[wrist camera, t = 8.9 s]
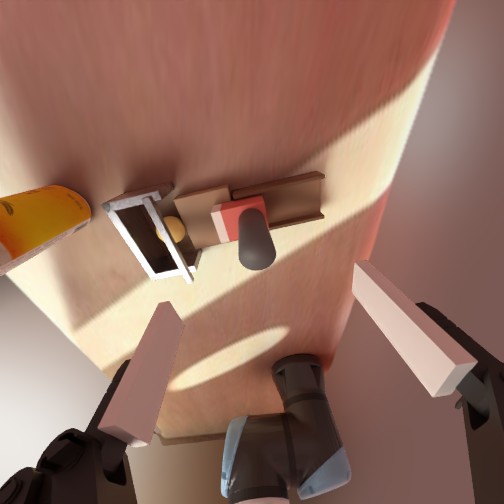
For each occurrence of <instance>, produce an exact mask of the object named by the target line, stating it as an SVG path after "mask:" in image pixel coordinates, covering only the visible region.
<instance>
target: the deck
mask: <svg viewBox="0 0 504 504" xmlns="http://www.w3.org/2000/svg"><path fill="white" fill-rule="evenodd" d="M173 201H174V203H175V205H176V208H177V210H178V212H179V214H180V216H181V219H182V221H183V223H184V225H185V228H186V230H187V232H188V234H189V236H190V239H191V241H192V243H193V245H194V248H195V249H200V248H204V247H209V246H213V245H218V244H223V243H221V242H220V239H219V236H218V233H217V230H216V227H215V224H214V222H213V219H212V216H211V211H212V208H213V205H217V204H222V203H226V202H230V201H232V197H231V193H230V190H229V186H228V184H226V185H222V186H218V187H214V188H210V189H205V190H201V191H197V192H193V193H188V194H184V195H180V196H177V197H176V198H175V199H174V200H173ZM235 241H236V240H235ZM230 242H232V241H230ZM225 243H227V242H225Z"/></svg>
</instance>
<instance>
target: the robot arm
mask: <svg viewBox="0 0 504 504" xmlns="http://www.w3.org/2000/svg"><path fill="white" fill-rule="evenodd" d="M352 293H353V294H354V295H355V297H356V298H357V299H358V301H359V302H360V303H361V305H362V306H363V307H364V308H365V310H366V311H367V312H368V314H369V315H370V316H371V318H372V319H373V320H374V321H375V323H376V324H377V325H378V327H379V328H380V329H381V330H382V332H383V333H384V334H385V336H386V337H387V338H388V340H389V341H390V342H391V344H392V345H393V346H394V347H395V349H396V350H397V351H398V353H399V354H400V355H401V357H402V358H403V359H404V361H405V362H406V363H407V364H408V366H409V367H410V368H411V369H412V371H413V372H414V374H415V375H416V376H417V377H418V379H419V380H420V381H421V383H422V384H423V385H424V387H425V388H426V389H427V390H428V392H429V393H430V394H431V395H432V397H438V396H444V395H450V394H451V393H452V392H453V391H454V390H455V389H457V390H458V391H459V392H460V393H461V394H462V395H463V396H462V397H461V398H460V399H459V400H458V401H457V402H456V405H455V408H457V409H460V408H461V406H462V407H463V414H464V422H465V429H466V437H467V444H468V451H469V460H470V467H471V474H472V482H473V489H474V496H475V504H504V363H502V362H500V361H499V360H497V359H496V358H495V357H494V356H492V355H491V354H490V353H489V352H487V351H486V350H485V349H484V348H483V347H482V346H480V345H479V344H478V343H477V342H475V341H474V340H473V339H472V338H471V337H470V336H468V335H467V334H466V333H465V332H464V331H462V330H461V329H460V328H459V327H456V325H455V324H454V323H453V322H451V321H450V320H448V319H447V317H446V316H444V315H443V314H442V313H441V312H440V311H438V310H437V309H435V308H434V307H432V306H430V305H428V304H426V303H424V302H421V303H416V304H414V303H413V302H412V301H411V300H409V298H408V297H406V296H405V295H404V294H403V293H402V292H401V291H400V290H399V289H398V288H396V287H395V286H394V285H393V284H392V283H391V282H390V281H389V280H388V279H387V278H385V277H384V276H383V275H382V274H381V273H380V272H379V271H378V270H377V269H376V268H374V267H373V266H372V265H371V264H370V263H369V262H368V261H367V260H364V261H359V262H355V265H354V274H353V284H352ZM184 326H185V325H184V324H183V322H182V320H181V319H180V317H179V316H178V314H177V313H176V311H175V309H174V308H173V306H172V305H171V303H170V302H169V301H167V302H162V303H159V304H158V306H157V308H156V310H155V312H154V314H153V316H152V318H151V320H150V322H149V324H148V326H147V328H146V330H145V332H144V334H143V336H142V338H141V340H140V342H139V345H138V347H137V349H136V351H135V353H134V355H133V357H132V359H129V360H126V361H125V362H124V363H123V364H122V365H121V367H120V368H119V369H118V370H117V372H116V374H115V376H114V378H113V380H112V383H111V384H110V386H109V387H108V389H107V393H105V395H104V397H103V399H102V401H101V402H100V404H99V406H98V408H97V410H96V412H95V414H94V416H93V418H92V419H91V421H90V423H89V425H88V427H87V429H86V431H85V432H82V431H79V430H78V429H75V428H71V429H68V430H66V431H64V432H63V433H61V434H60V435H58V436H57V437H56V438H55V439H54V440H53V441H52V442H51V443H50V444H49V446H48V447H47V448H46V450H45V451H44V452H43V454H42V455H41V457H40V459H39V461H38V463H37V466H36V468H32V467H26V468H24V469H21V470H19V471H18V472H17V473H16V474H14V475H13V476H12V477H10V478H9V480H8V481H7V482H6V483H5V484H4V485H3V486H2V487H1V488H0V504H137V499H136V494H135V490H134V485H133V480H132V475H131V470H130V466H129V461H128V456H127V454H126V452H125V450H126V447H127V444H128V445H130V446H132V447H134V448H135V447H141V446H146V445H150V442H151V439H152V435H153V432H154V428H155V425H156V422H157V418H158V415H159V411H160V408H161V404H162V401H163V398H164V394H165V391H166V387H167V384H168V380H169V377H170V374H171V370H172V367H173V363H174V360H175V356H176V353H177V350H178V346H179V343H180V339H181V336H182V332H183V329H184ZM272 377H273V381H274V383H275V385H276V387H277V390H278V392H279V394H280V396H281V399H282V401H283V406H284V413H273V414H263V415H247V416H243V417H237V418H234V419H233V420H232V421H231V422H230V424H229V427H228V431H227V435H226V441H225V447H224V455H223V464H222V478H221V492H222V495H223V496H225V497H226V498H228V497H229V501H228V504H289V497H288V489H291V488H297V493H298V495H299V497H300V499H302V500H303V499H307V498H311V497H314V496H317V495H319V494H322V493H325V492H328V491H330V490H333V489H335V488H338V487H340V486H342V485H344V484H346V483H348V482H349V481H350V478H351V470H350V466H349V462H348V459H347V456H346V452H345V446H344V445H343V443H342V440H341V437H340V434H339V431H338V428H337V425H336V423H335V420H334V417H333V414H332V411H331V408H330V405H329V403H328V400H327V397H326V393H325V382H324V370H323V366H322V364H321V361H320V359H319V358H317V357H315V356H313V355H307V354H298V355H292V356H288V357H286V358H283V359H281V360H279V361H278V362H276V363H275V364H274V365H273V367H272Z"/></svg>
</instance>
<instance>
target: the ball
mask: <svg viewBox="0 0 504 504" xmlns="http://www.w3.org/2000/svg"><path fill="white" fill-rule="evenodd" d="M163 219H164V221H165V223H166V225H167V227H168V229H169V231H170V233H171V235H172V236H173V238H174V240H175V242H176V243H177V242H179V241H181V240H182V239H183V238H184V236H185V233H186V228H185V225H184V223H183V222H182V221H181V220H180V219H179V218H177V217H174V216H166V217H163ZM156 233H157V236H158V237H159V238H160V239H161V240H162V241H163V242H164V240H163V238H162V237H161V235H160V233H159V231H158V229H157V227H156Z"/></svg>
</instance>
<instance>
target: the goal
mask: <svg viewBox="0 0 504 504" xmlns="http://www.w3.org/2000/svg"><path fill="white" fill-rule="evenodd" d="M173 190H174V187H173V185H172V183H171V182H168V183H164V184H160V185H156V186H152V187H148V188H143V189H139V190H135V191H131V192H127V193H123V194H121V195H119V196H117V197H115V198H113V199H111V200H109V201H107V202H105V203H103V204H101V206H102V207H103V209H104V210H105V212H106V213H107V214H108V216H109V217H110V219H111V220H112V222H113V223H114V225H115V226H116V228H117V229H118V231H119V232H120V234H121V235H122V237H123V238H124V240H125V241H126V242H127V244H128V245H129V247H130V248H131V250H132V251H133V253H134V254H135V256H136V257H137V259H138V260H139V262H140V263H141V265H142V266H143V267H144V269H145V270H146V272H147V273H148V275H149V276H150V278H151V279H152V280H156V279H161V278H165V277H170V276H175V275H180V274H182V275H183V277H184V279H185V281H186V282H187V284H189V283H193V281H194V278H193V276H192V274H191V272H194V271H197V267H198V264H199V261H200V258H201V254H202V252H201V250H200V249H194V250H189V251H185V252H180V250H179V248H178V246H177V244H176V242H175V240H174V238H173V236H172V235H171V233H170V231H169V229H168V227H167V225H166V223H165V221H164V219H163V217H162V215H161V213H160V211H159V209H158V207H157V205H156V203H155V201H157V200H162V199H163V198H164V197H165V196H167V195H168V194H169V193H170V192H171V191H173ZM141 204H144V205H145V207H146V209H147V211H148V213H149V215H150V216H151V218H152V220H153V222H154V224H155V226H156V227H157V229H158V231H159V233H160V235H161V237H162V238H163V240H164V242H165V244H166V246H167V248H168V249H169V251H170V253H171V255H166V254H165V252H164V251H163V249H162V247H161V245H160V244H159V242H158V240H157V238H156V236H155V235H154V233H153V231H152V229H151V228H150V226H149V224H148V222H147V221H146V219H145V217H144V215H143V213H142V212H141V210H140V208H139V206H138V205H141Z"/></svg>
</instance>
